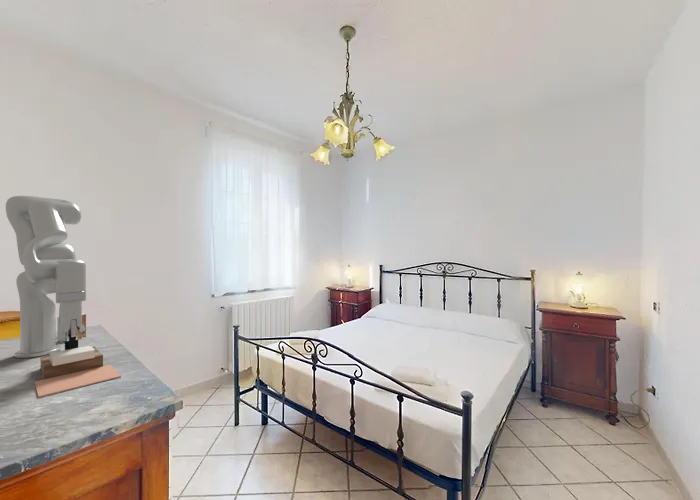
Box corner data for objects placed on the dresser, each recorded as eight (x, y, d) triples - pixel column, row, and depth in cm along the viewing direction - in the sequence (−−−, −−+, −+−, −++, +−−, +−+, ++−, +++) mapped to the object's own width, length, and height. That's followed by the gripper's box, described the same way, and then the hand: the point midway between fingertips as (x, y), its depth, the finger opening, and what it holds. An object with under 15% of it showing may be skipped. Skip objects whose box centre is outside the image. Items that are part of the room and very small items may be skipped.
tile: (49, 360, 99) (49, 352, 99) (90, 352, 106) (90, 345, 106) (52, 366, 94) (52, 357, 94) (94, 357, 102) (94, 349, 102)
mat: (34, 382, 92) (34, 381, 92) (110, 365, 105) (110, 364, 105) (38, 397, 83) (38, 396, 83) (121, 377, 96) (121, 375, 96)
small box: (67, 342, 132) (67, 317, 132) (56, 341, 133) (56, 316, 133) (86, 337, 140) (86, 313, 140) (76, 336, 141) (76, 313, 141)
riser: (40, 368, 103) (40, 356, 103) (94, 357, 113) (94, 346, 113) (44, 380, 94) (44, 367, 94) (103, 367, 104) (103, 355, 104)
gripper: (53, 296, 106) (53, 350, 106) (58, 300, 96) (59, 360, 96) (82, 294, 112) (82, 345, 112) (89, 297, 102) (90, 354, 102)
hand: (71, 352), depth 104 cm, fingers closed
